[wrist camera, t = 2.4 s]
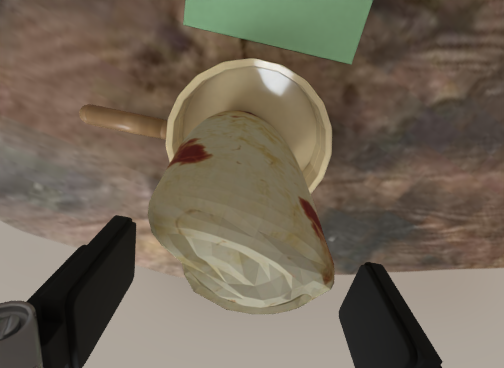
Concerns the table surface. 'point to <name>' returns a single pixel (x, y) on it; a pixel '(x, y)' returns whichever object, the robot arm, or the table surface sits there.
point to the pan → (258, 109)
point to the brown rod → (124, 121)
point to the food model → (242, 218)
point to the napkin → (286, 23)
